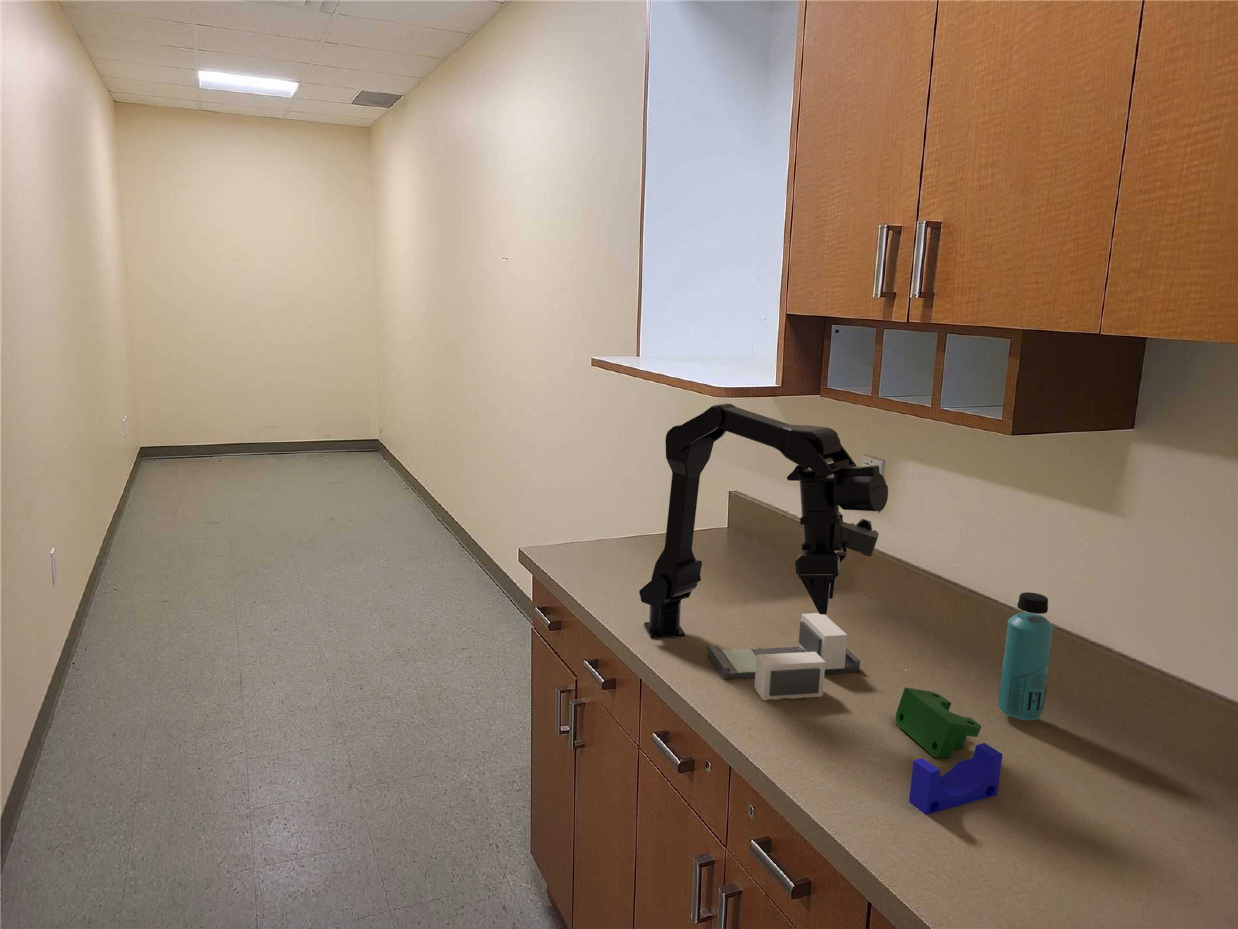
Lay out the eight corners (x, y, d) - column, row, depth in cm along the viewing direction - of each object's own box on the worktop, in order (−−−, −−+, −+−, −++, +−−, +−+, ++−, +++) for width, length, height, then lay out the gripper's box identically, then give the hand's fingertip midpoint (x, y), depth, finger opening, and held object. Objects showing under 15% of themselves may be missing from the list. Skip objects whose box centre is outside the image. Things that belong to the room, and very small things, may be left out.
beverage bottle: (1025, 734, 130) (1042, 606, 126) (985, 715, 136) (1001, 592, 132) (1051, 723, 134) (1068, 598, 130) (1011, 705, 139) (1027, 585, 135)
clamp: (956, 780, 126) (991, 739, 121) (921, 775, 124) (955, 733, 120) (921, 713, 136) (953, 673, 131) (889, 708, 134) (920, 667, 129)
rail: (708, 656, 154) (708, 646, 154) (836, 650, 159) (837, 639, 158) (723, 679, 145) (724, 668, 145) (859, 671, 150) (860, 660, 149)
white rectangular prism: (754, 689, 142) (756, 654, 141) (812, 685, 144) (815, 651, 143) (763, 702, 138) (766, 666, 137) (823, 698, 140) (826, 663, 139)
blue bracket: (970, 778, 119) (975, 737, 117) (997, 796, 115) (1002, 754, 113) (900, 797, 114) (905, 754, 112) (925, 816, 110) (930, 772, 108)
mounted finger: (796, 645, 157) (798, 614, 156) (820, 644, 158) (822, 612, 157) (818, 669, 148) (821, 636, 147) (844, 668, 149) (847, 635, 147)
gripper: (869, 517, 126) (876, 623, 128) (876, 497, 144) (882, 591, 146) (791, 519, 130) (798, 622, 132) (807, 500, 148) (813, 591, 149)
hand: (826, 606), depth 139 cm, fingers open, 9 cm apart
